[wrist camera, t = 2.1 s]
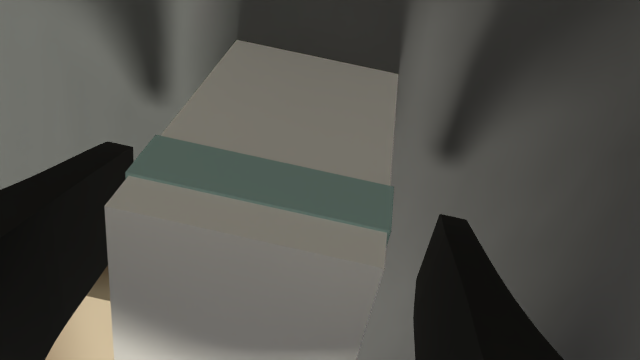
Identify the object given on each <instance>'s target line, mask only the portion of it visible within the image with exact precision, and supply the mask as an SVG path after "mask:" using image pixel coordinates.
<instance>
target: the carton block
mask: <svg viewBox="0 0 640 360" xmlns="http://www.w3.org/2000/svg"><path fill="white" fill-rule="evenodd" d="M397 87H398V74H396V73H391V72H386V71H382V70H377V69H372V68H367V67H363V66H358V65H353V64H349V63H344V62H339V61H335V60H330V59H325V58H320V57H316V56H311V55H306V54H302V53H297V52H292V51H287V50H283V49H278V48H273V47H269V46H264V45H259V44H254V43H250V42H245V41H240V40H236V41H235V42H234V44H233V45H232V46H231V47H230V49H229V50H228V51H227V52H226V54H225V55H224V56H223V58H222V59H221V60H220V61H219V63H218V64H217V65H216V66H215V68H214V69H213V70H212V71H211V73H210V74H209V75H208V76H207V78H206V79H205V80H204V81H203V83H202V84H201V85H200V86H199V88H198V89H197V90H196V91H195V93H194V94H193V95H192V97H191V98H190V99H189V100H188V102H187V103H186V104H185V105H184V107H183V108H182V109H181V110H180V112H179V113H178V114H177V115H176V117H175V118H174V119H173V120H172V122H171V123H170V124H169V125H168V127H167V128H166V129H165V130H164V132H163V133H162V134H161V135H160V136H159V135H155V136H154V137H153V139H152V140H151V141H150V142H149V144H148V145H147V146H146V147H145V149H144V150H143V151H142V152H141V153H140V155H139V156H138V157H137V158H136V160H135V161H134V162H133V163H132V165H131V166H130V167H129V168H128V170H127V171H126V172H125V178H126V180H125V181H124V182H123V183H122V185H121V186H120V187H119V188H118V190H117V191H116V192H115V193H114V195H113V196H112V197H111V198H110V200H109V201H108V202H107V203H106V205H105V206H104V209H105V224H106V240H107V255H108V271H109V287H110V302H111V318H112V333H113V349H114V360H356V359H357V356H358V353H359V349H360V346H361V343H362V340H363V337H364V333H365V330H366V327H367V324H368V320H369V317H370V314H371V311H372V308H373V304H374V301H375V298H376V295H377V291H378V288H379V285H380V282H381V278H382V275H383V272H384V269H385V256H386V246H387V243H388V240H389V236H390V233H391V226H392V210H393V194H394V187H393V186H391V172H392V158H393V143H394V129H395V115H396V101H397Z"/></svg>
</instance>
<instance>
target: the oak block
mask: <svg viewBox="0 0 640 360" xmlns="http://www.w3.org/2000/svg"><path fill="white" fill-rule="evenodd" d="M45 360H114V349H113V333H112V318H111V302H110V287H109V271H108V266H107V267H106V269H105V270H104V271H103V273H102V274H101V276H100V277H99V279H98V280H97V281H96V283H95V284H94V286H93V287H92V288H91V290H90V291H89V293H88V294H87V296H86V297H85V298H84V300H83V301H82V303H81V304H80V305H79V307H78V308H77V310H76V311H75V313H74V314H73V315H72V317H71V318H70V320H69V321H68V322H67V324H66V325H65V327H64V329H63V330H62V332H61V333H60V335H59V336H58V338H57V339H56V341H55V343H54V345H53V346H52V348H51V350H50V352H49V354H48V355H47V357H46V359H45Z"/></svg>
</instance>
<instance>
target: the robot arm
mask: <svg viewBox="0 0 640 360" xmlns="http://www.w3.org/2000/svg"><path fill="white" fill-rule="evenodd" d="M132 163H133V147H130V146H126V145H121V144H117V143H112V142H105V143H103V144H100V145H98V146H96V147H93V148H91V149H89V150H87V151H85V152H83V153H81V154H79V155H77V156H75V157H72V158H70V159H68V160H66V161H64V162H62V163H60V164H58V165H56V166H54V167H51V168H49V169H47V170H45V171H43V172H41V173H39V174H37V175H34V176H32V177H30V178H28V179H25V180H23V181H21V182H18V183H16V184H13V185H11V186H9V187H6V188H4V189H2V190H0V360H45V359H46V357H47V355H48V354H49V352H50V350H51V348H52V346H53V345H54V343H55V341H56V339H57V338H58V336H59V335H60V333H61V332H62V330H63V329H64V327H65V325H66V324H67V322H68V321H69V320H70V318H71V317H72V315H73V314H74V313H75V311H76V310H77V308H78V307H79V305H80V304H81V303H82V301H83V300H84V298H85V297H86V296H87V294H88V293H89V291H90V290H91V288H92V287H93V286H94V284H95V283H96V281H97V280H98V279H99V277H100V276H101V274H102V273H103V271H104V270H105V269H106V267H107V266H108V255H107V240H106V224H105V209H104V206H105V205H106V203H107V202H108V201H109V200H110V198H111V197H112V196H113V195H114V193H115V192H116V191H117V190H118V188H119V187H120V186H121V185H122V183H123V182H124V181H125V180H126V178H125V172H126V171H127V170H128V168H129V167H130V166H131V165H132ZM413 319H414V341H415V360H564V359H563V358H562V357H561V356H560V355H559V354H558V353H557V352H556V351H555V349H554V348H553V347H552V346H551V345H550V344H549V342H548V341H547V340H546V339H545V338H544V337H543V335H542V334H541V333H540V332H539V331H538V329H537V328H536V327H535V326H534V324H533V323H532V322H531V321H530V319H529V318H528V317H527V315H526V314H525V312H524V311H523V310H522V308H521V307H520V306H519V304H518V303H517V302H516V300H515V299H514V297H513V296H512V294H511V293H510V292H509V290H508V289H507V287H506V285H505V284H504V282H503V281H502V279H501V278H500V276H499V274H498V273H497V271H496V270H495V268H494V266H493V265H492V263H491V261H490V260H489V258H488V256H487V255H486V253H485V251H484V250H483V248H482V246H481V244H480V243H479V241H478V239H477V237H476V236H475V234H474V232H473V230H472V229H471V227H470V225H469V224H468V222H467V220H465V219H460V218H456V217H451V216H446V215H442V214H440V215H439V218H438V220H437V223H436V226H435V229H434V232H433V234H432V237H431V240H430V243H429V245H428V248H427V251H426V254H425V257H424V259H423V262H422V265H421V268H420V270H419V273H418V276H417V279H416V290H415V302H414V317H413Z"/></svg>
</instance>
